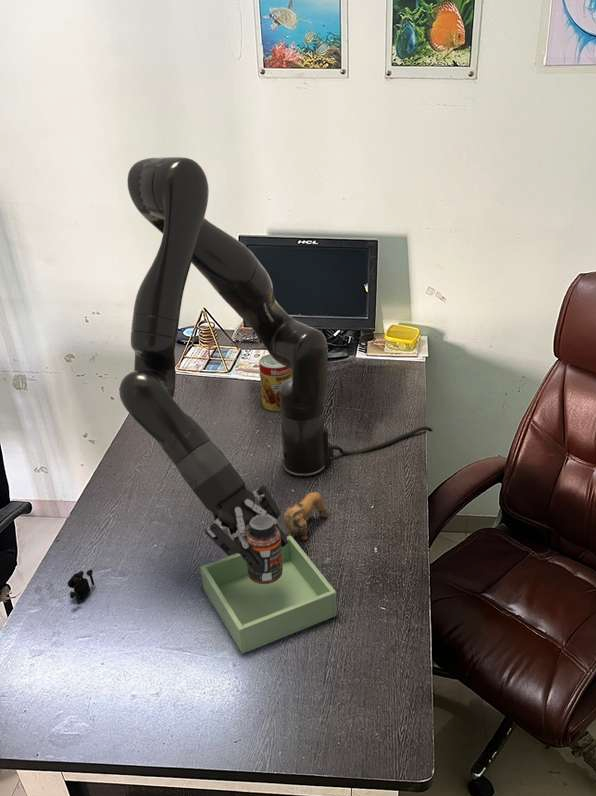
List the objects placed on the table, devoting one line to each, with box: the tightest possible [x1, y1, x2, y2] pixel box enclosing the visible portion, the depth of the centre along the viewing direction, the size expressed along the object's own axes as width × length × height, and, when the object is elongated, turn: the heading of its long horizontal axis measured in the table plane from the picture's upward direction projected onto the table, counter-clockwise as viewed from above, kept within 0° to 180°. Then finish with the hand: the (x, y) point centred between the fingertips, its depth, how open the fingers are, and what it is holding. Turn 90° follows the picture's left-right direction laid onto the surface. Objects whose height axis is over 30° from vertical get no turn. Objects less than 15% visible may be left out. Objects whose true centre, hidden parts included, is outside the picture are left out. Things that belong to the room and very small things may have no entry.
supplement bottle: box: [246, 515, 283, 584], centre depth 124 cm, size 6×6×11 cm
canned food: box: [258, 353, 292, 412], centre depth 186 cm, size 8×8×12 cm
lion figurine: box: [283, 491, 328, 541], centre depth 146 cm, size 15×5×9 cm, turn 163°
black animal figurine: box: [67, 569, 95, 605], centre depth 130 cm, size 7×2×5 cm, turn 168°
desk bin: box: [200, 536, 337, 655], centre depth 130 cm, size 18×18×6 cm
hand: (272, 555), depth 124 cm, fingers closed on supplement bottle, 6 cm apart
